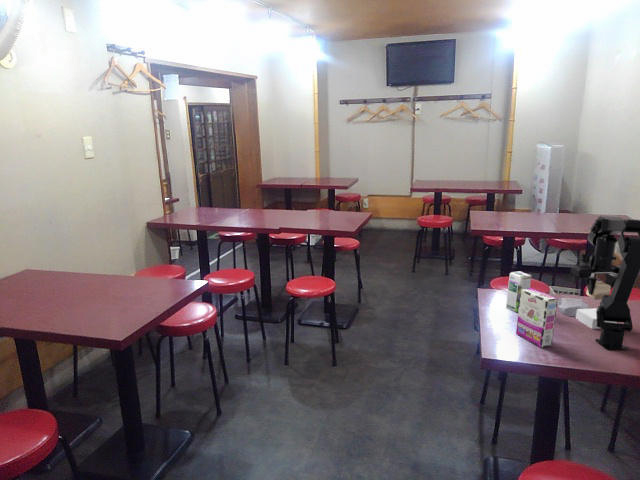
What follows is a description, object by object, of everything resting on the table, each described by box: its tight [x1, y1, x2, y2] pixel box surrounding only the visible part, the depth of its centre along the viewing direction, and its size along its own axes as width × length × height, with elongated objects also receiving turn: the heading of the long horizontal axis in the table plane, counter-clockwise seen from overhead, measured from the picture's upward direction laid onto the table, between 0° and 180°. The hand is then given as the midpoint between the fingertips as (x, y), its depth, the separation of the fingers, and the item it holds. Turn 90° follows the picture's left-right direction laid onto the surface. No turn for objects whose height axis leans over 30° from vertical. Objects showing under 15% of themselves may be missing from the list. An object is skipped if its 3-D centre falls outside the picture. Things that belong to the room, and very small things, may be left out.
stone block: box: [557, 297, 591, 317], centre depth 173 cm, size 12×5×10 cm
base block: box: [575, 307, 618, 330], centre depth 162 cm, size 9×9×4 cm
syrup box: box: [505, 271, 532, 313], centre depth 173 cm, size 6×6×14 cm
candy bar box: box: [515, 287, 559, 349], centre depth 148 cm, size 11×5×16 cm, turn 21°
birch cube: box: [585, 280, 611, 301], centre depth 159 cm, size 5×5×5 cm
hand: (597, 294), depth 159 cm, fingers closed on birch cube, 5 cm apart
